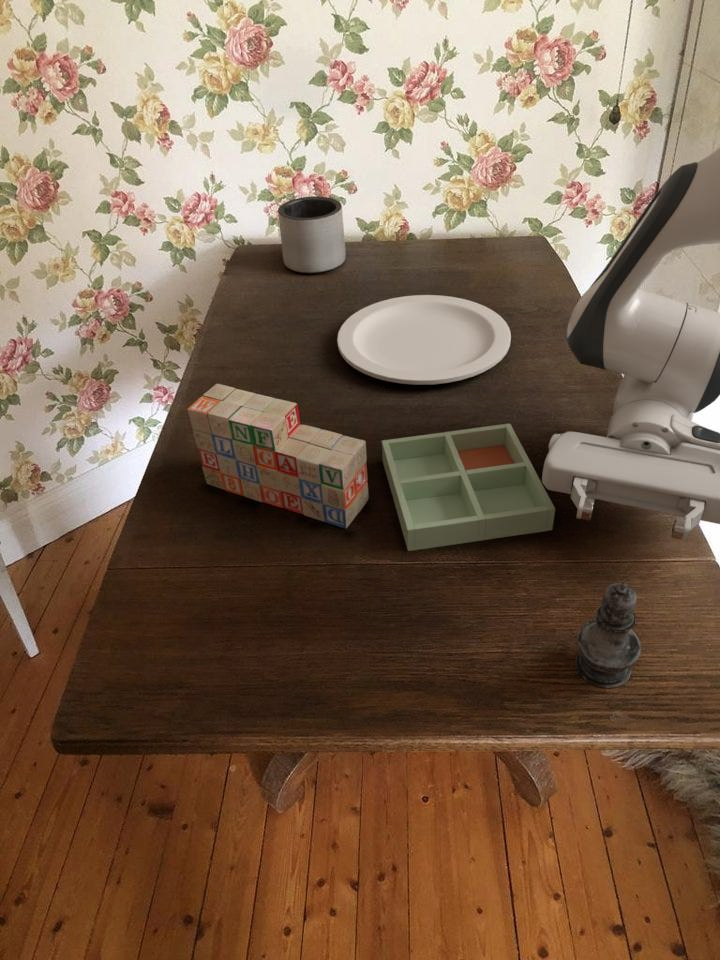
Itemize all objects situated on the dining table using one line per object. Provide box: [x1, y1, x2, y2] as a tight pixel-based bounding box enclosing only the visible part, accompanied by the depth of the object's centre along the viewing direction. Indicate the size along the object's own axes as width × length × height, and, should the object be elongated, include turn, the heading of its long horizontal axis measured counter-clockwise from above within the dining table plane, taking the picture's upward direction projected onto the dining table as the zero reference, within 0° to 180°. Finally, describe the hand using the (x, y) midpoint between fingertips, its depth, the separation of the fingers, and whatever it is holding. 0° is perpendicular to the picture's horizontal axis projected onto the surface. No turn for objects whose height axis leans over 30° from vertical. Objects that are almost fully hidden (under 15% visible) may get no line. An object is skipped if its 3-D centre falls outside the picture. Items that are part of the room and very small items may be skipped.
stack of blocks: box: [187, 383, 370, 529], centre depth 93 cm, size 21×6×12 cm, turn 62°
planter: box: [277, 195, 347, 275], centre depth 148 cm, size 13×12×11 cm
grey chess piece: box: [575, 581, 642, 689], centre depth 70 cm, size 6×6×12 cm
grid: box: [381, 423, 556, 552], centre depth 94 cm, size 17×17×3 cm
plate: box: [336, 294, 512, 386], centre depth 123 cm, size 28×28×2 cm
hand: (631, 524), depth 76 cm, fingers open, 8 cm apart
